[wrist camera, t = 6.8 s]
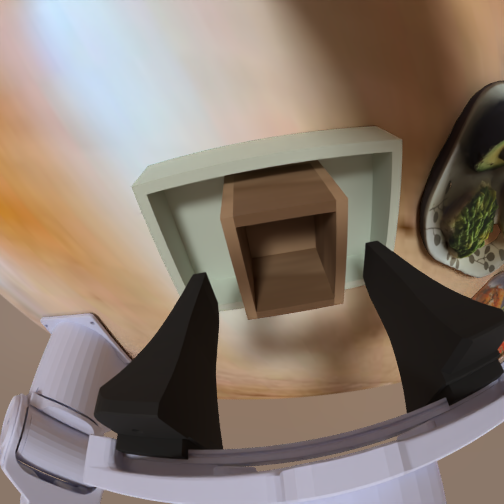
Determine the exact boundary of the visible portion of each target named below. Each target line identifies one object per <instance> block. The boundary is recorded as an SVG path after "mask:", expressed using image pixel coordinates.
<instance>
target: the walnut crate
mask: <svg viewBox="0 0 504 504" xmlns="http://www.w3.org/2000/svg"><path fill="white" fill-rule="evenodd" d="M220 221H221V225H222V229H223V232H224V236H225V240H226V243H227V247H228V251H229V254H230V258H231V262H232V265H233V269H234V272H235V276H236V279H237V283H238V287H239V290H240V294H241V297H242V301H243V304H244V308H245V311H246V315H247V318H248V320H250V319H257V318H264V317H270V316H277V315H283V314H289V313H295V312H301V311H306V310H312V309H317V308H322V307H328V306H333V305H338V304H343V301H344V290H345V276H346V260H347V237H348V198H347V196H346V195H345V194H344V192H343V191H342V190H341V188H340V187H339V186H338V185H337V183H336V182H335V181H334V180H333V178H332V177H331V176H330V174H329V173H328V172H327V171H326V170H325V168H324V167H323V166H322V165H321V163H320V162H319V161H318V160H311V161H304V162H297V163H291V164H284V165H278V166H273V167H267V168H261V169H256V170H250V171H245V172H240V173H235V174H230V175H225V176H224V185H223V194H222V203H221V213H220Z"/></svg>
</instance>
